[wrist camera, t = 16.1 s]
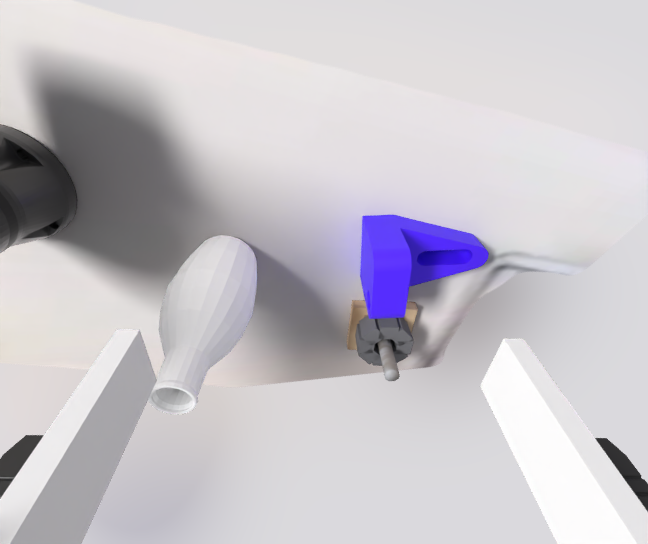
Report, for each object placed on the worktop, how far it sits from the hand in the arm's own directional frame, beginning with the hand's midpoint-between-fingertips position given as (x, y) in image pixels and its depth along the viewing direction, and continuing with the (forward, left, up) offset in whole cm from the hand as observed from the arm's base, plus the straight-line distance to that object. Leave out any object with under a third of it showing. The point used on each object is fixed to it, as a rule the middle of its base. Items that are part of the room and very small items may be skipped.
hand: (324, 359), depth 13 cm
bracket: (+17, -15, -37) cm, 44 cm away
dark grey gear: (+13, -32, -35) cm, 49 cm away
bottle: (-13, -19, -37) cm, 43 cm away
